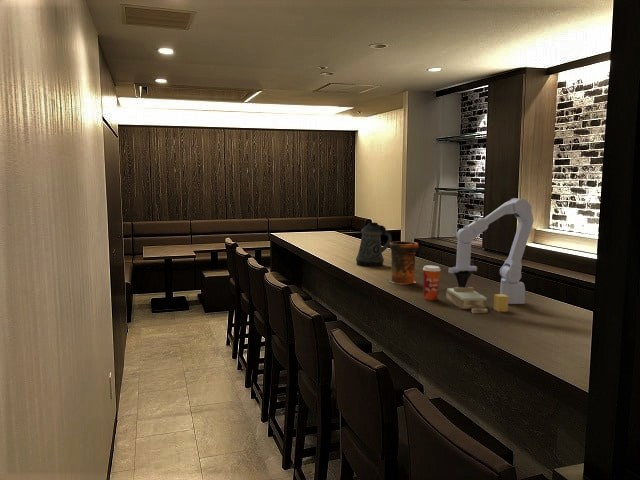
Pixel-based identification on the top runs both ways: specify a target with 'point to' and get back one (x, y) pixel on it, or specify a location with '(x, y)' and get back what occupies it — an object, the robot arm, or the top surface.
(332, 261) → the top surface
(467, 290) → the lid
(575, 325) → the top surface
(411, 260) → the vessel
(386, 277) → the top surface
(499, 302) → the yellow block
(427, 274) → the paper cup
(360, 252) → the beer stein
